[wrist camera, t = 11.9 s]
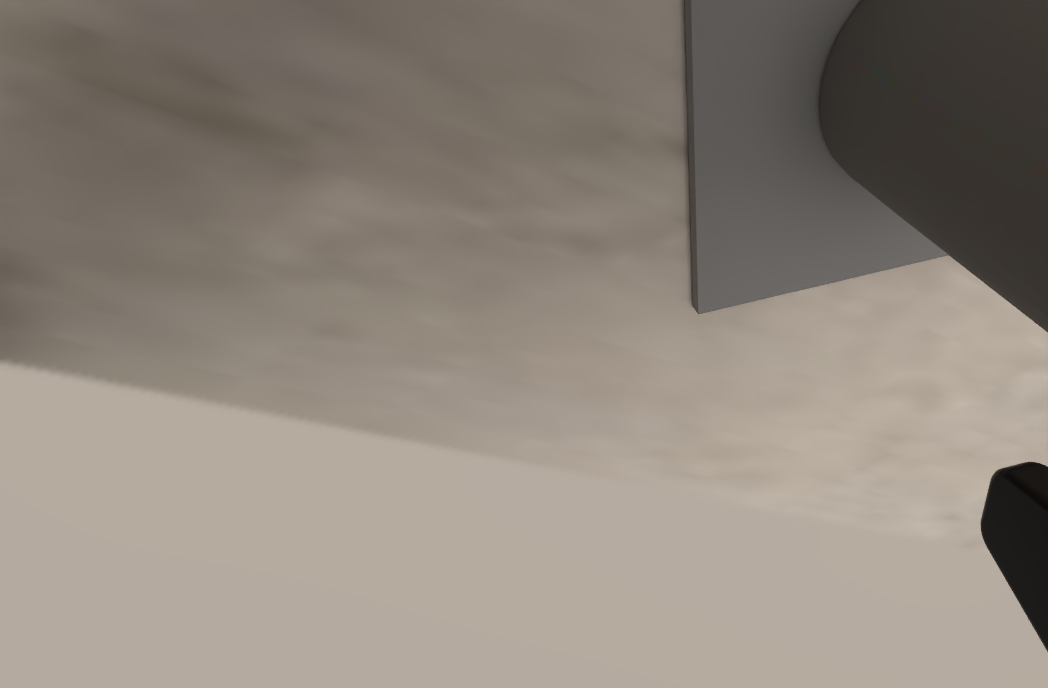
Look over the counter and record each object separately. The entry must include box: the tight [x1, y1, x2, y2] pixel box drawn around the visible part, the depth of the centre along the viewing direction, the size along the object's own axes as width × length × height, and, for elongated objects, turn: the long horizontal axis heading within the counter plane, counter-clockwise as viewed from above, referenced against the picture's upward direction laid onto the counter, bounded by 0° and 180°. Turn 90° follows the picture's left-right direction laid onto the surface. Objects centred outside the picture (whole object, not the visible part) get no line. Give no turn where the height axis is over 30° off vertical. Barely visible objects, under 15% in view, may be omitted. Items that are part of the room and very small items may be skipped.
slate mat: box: [685, 0, 948, 314], centre depth 21 cm, size 12×12×1 cm
